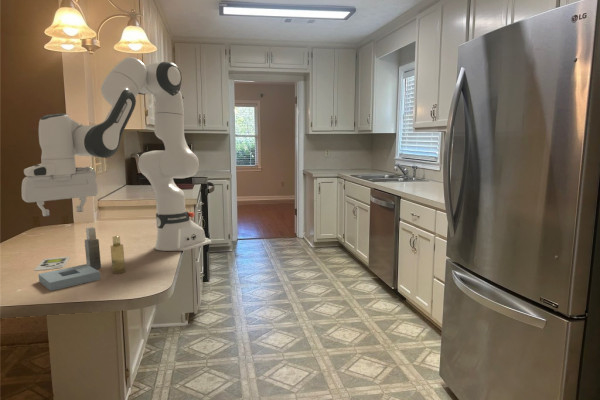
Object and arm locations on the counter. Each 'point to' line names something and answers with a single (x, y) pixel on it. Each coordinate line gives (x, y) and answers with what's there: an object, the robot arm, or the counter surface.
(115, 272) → the gold bottle
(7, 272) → the counter surface
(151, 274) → the counter surface
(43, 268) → the handheld gaming device
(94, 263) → the square bit
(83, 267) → the socket plate
